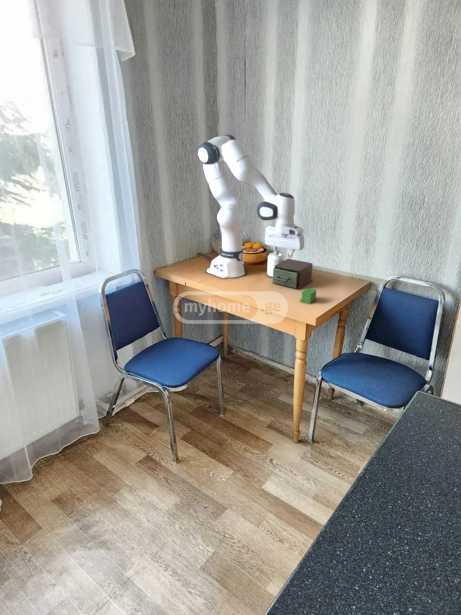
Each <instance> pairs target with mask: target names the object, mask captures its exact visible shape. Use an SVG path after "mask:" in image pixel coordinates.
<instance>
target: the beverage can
mask: <svg viewBox="0 0 461 615" xmlns="http://www.w3.org/2000/svg"><path fill="white" fill-rule="evenodd" d="M283 261H284V258H283V254H282V253H281V252H279V255H275V252H269V253H268V255H267V271H266V275H267V276H268V277H270V278H273V269H274V268H275V265H277V264H279V263H281V262H283Z"/></svg>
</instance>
